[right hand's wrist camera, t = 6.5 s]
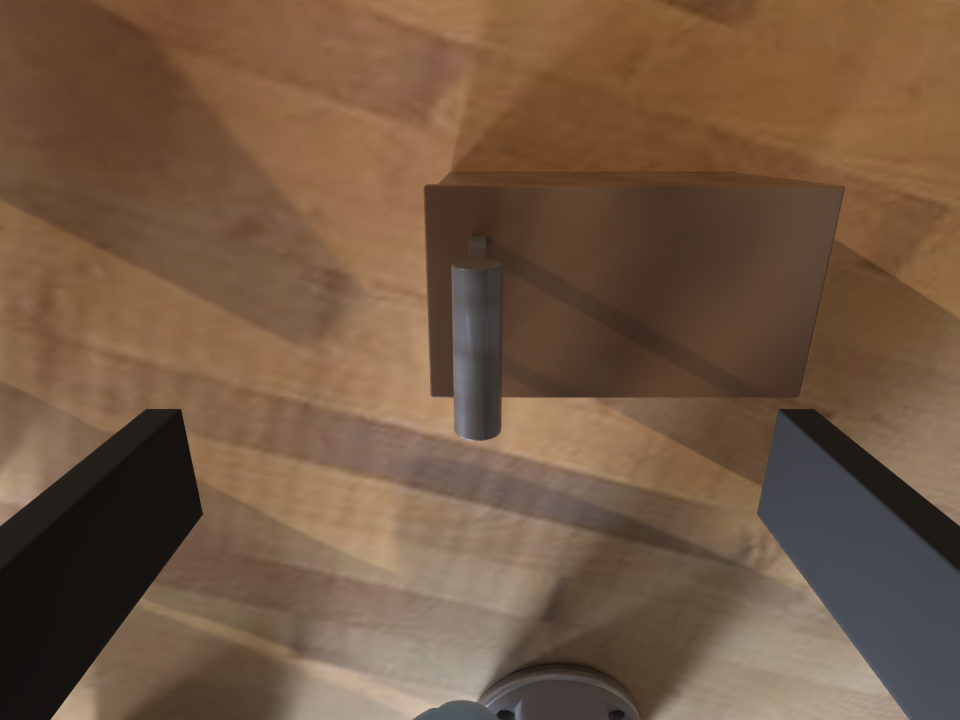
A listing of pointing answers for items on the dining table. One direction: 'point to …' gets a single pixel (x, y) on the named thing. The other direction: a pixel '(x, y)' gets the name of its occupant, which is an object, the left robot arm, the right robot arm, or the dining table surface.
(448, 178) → the chest
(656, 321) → the lid
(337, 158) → the dining table surface
